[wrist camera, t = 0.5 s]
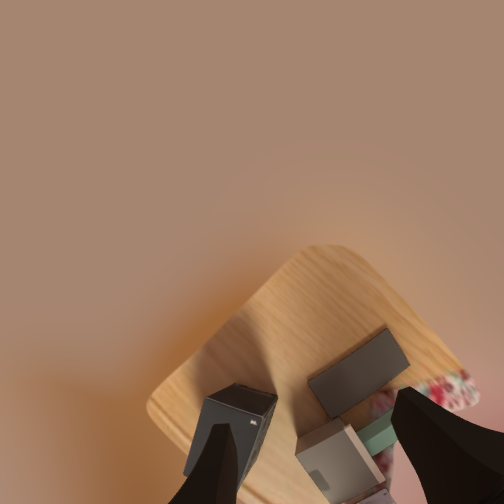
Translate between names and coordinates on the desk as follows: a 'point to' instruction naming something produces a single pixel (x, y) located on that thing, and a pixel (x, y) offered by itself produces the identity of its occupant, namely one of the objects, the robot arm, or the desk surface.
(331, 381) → the mat
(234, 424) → the small box
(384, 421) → the green block
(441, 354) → the desk surface
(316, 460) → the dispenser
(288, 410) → the desk surface
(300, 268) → the desk surface
